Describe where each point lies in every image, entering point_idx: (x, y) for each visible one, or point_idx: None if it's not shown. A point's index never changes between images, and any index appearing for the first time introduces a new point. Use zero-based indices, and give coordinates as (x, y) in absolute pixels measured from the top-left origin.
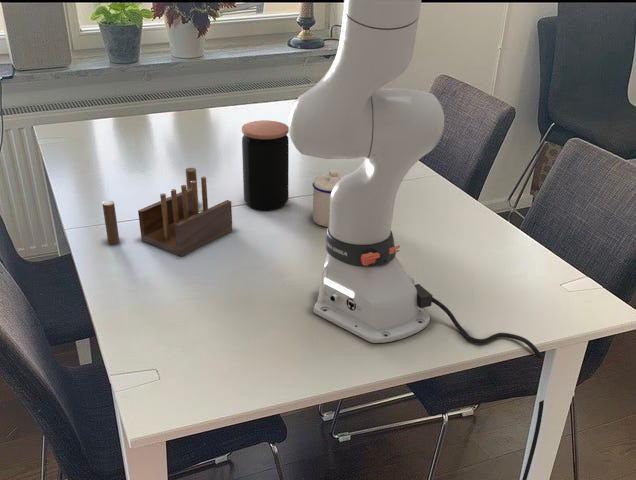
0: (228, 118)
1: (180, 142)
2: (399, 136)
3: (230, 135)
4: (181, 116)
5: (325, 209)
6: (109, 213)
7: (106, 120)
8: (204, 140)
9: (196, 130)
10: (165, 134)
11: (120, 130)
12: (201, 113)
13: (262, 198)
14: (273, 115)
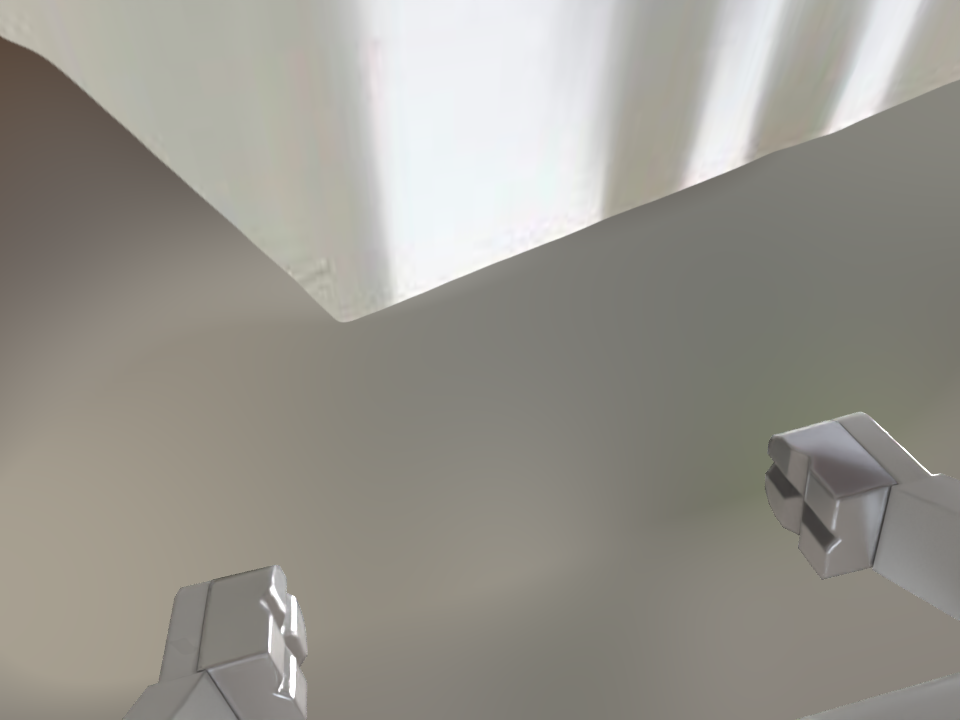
0: (562, 182)
1: (715, 3)
2: None
3: (570, 76)
4: (670, 173)
5: None
6: None
7: (845, 120)
8: (647, 28)
9: (654, 95)
10: (738, 56)
11: (838, 65)
12: (621, 197)
13: None
14: (450, 218)
